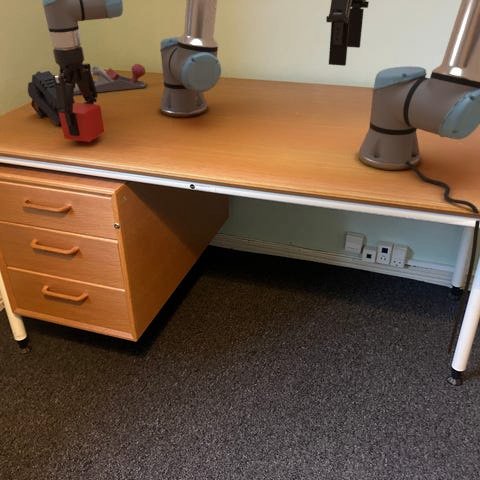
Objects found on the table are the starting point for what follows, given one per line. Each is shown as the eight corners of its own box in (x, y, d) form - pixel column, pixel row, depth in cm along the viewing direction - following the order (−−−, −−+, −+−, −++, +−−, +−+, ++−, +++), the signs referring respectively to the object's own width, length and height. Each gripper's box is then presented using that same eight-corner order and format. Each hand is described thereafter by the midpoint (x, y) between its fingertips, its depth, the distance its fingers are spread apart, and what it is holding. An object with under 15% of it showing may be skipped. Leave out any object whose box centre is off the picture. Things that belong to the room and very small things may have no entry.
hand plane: (62, 90, 197) (53, 48, 189) (145, 82, 205) (140, 41, 197) (62, 96, 191) (54, 53, 184) (148, 87, 199) (143, 45, 191)
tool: (41, 101, 176) (45, 64, 165) (76, 140, 172) (84, 104, 161) (24, 106, 172) (28, 69, 162) (60, 145, 168) (67, 110, 157)
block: (80, 129, 157) (75, 102, 153) (104, 131, 154) (100, 104, 150) (64, 138, 151) (58, 111, 146) (89, 141, 148) (83, 113, 144)
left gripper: (78, 38, 149) (93, 116, 161) (29, 55, 132) (49, 141, 145) (101, 39, 146) (114, 119, 159) (54, 57, 130) (73, 144, 142)
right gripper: (348, -89, 92) (338, 39, 103) (313, -87, 72) (306, 71, 84) (392, -90, 90) (377, 41, 101) (369, -88, 70) (354, 75, 81)
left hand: (83, 129), depth 152 cm, fingers closed on block, 8 cm apart
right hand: (345, 55), depth 92 cm, fingers open, 13 cm apart
